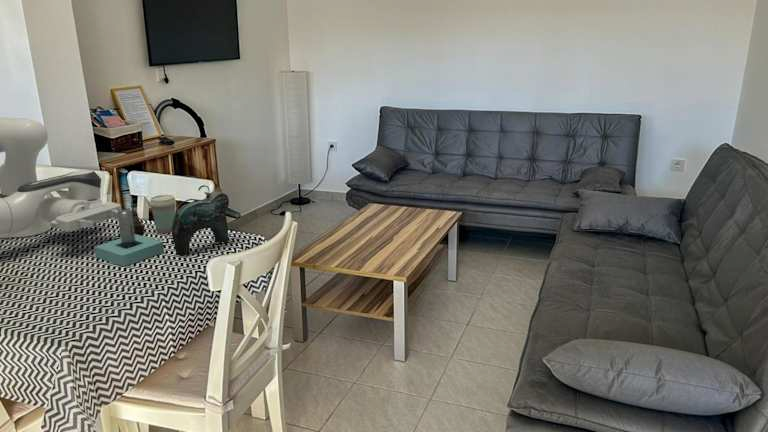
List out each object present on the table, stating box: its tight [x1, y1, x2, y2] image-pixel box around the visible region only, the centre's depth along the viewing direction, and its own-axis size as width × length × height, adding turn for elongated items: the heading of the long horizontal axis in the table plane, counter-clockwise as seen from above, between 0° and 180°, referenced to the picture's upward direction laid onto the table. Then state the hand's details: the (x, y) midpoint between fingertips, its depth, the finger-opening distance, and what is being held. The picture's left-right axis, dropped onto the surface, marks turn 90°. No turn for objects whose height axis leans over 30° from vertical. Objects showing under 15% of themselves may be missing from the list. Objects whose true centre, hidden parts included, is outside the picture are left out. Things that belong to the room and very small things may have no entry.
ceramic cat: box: [171, 184, 230, 257], centre depth 183 cm, size 20×6×20 cm, turn 141°
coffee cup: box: [149, 194, 177, 234], centre depth 200 cm, size 8×9×12 cm
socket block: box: [94, 234, 165, 268], centre depth 179 cm, size 14×14×4 cm
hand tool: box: [131, 209, 145, 236], centre depth 205 cm, size 19×4×5 cm, turn 24°
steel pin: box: [117, 209, 136, 249], centre depth 178 cm, size 4×4×14 cm
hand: (107, 220), depth 181 cm, fingers open, 8 cm apart
